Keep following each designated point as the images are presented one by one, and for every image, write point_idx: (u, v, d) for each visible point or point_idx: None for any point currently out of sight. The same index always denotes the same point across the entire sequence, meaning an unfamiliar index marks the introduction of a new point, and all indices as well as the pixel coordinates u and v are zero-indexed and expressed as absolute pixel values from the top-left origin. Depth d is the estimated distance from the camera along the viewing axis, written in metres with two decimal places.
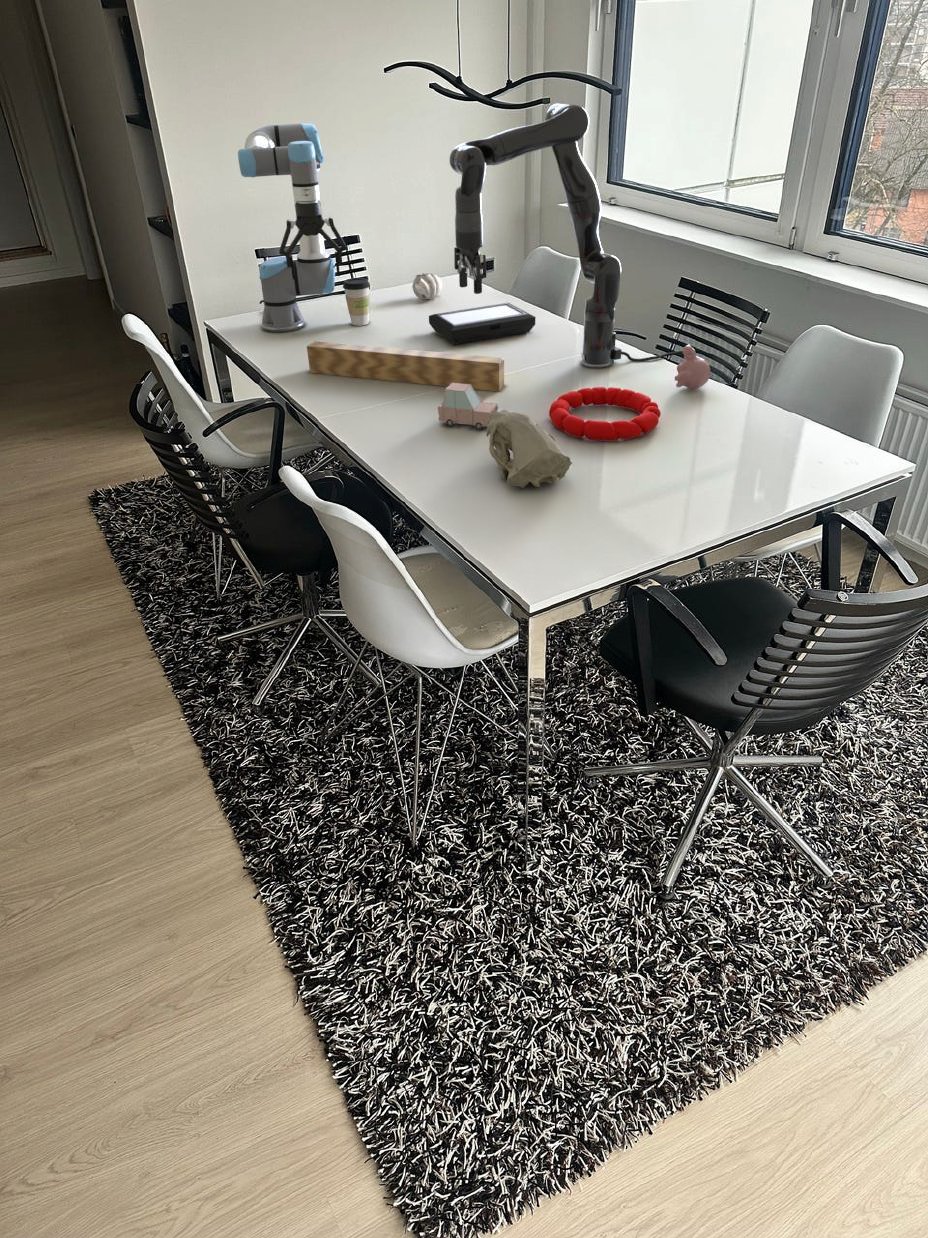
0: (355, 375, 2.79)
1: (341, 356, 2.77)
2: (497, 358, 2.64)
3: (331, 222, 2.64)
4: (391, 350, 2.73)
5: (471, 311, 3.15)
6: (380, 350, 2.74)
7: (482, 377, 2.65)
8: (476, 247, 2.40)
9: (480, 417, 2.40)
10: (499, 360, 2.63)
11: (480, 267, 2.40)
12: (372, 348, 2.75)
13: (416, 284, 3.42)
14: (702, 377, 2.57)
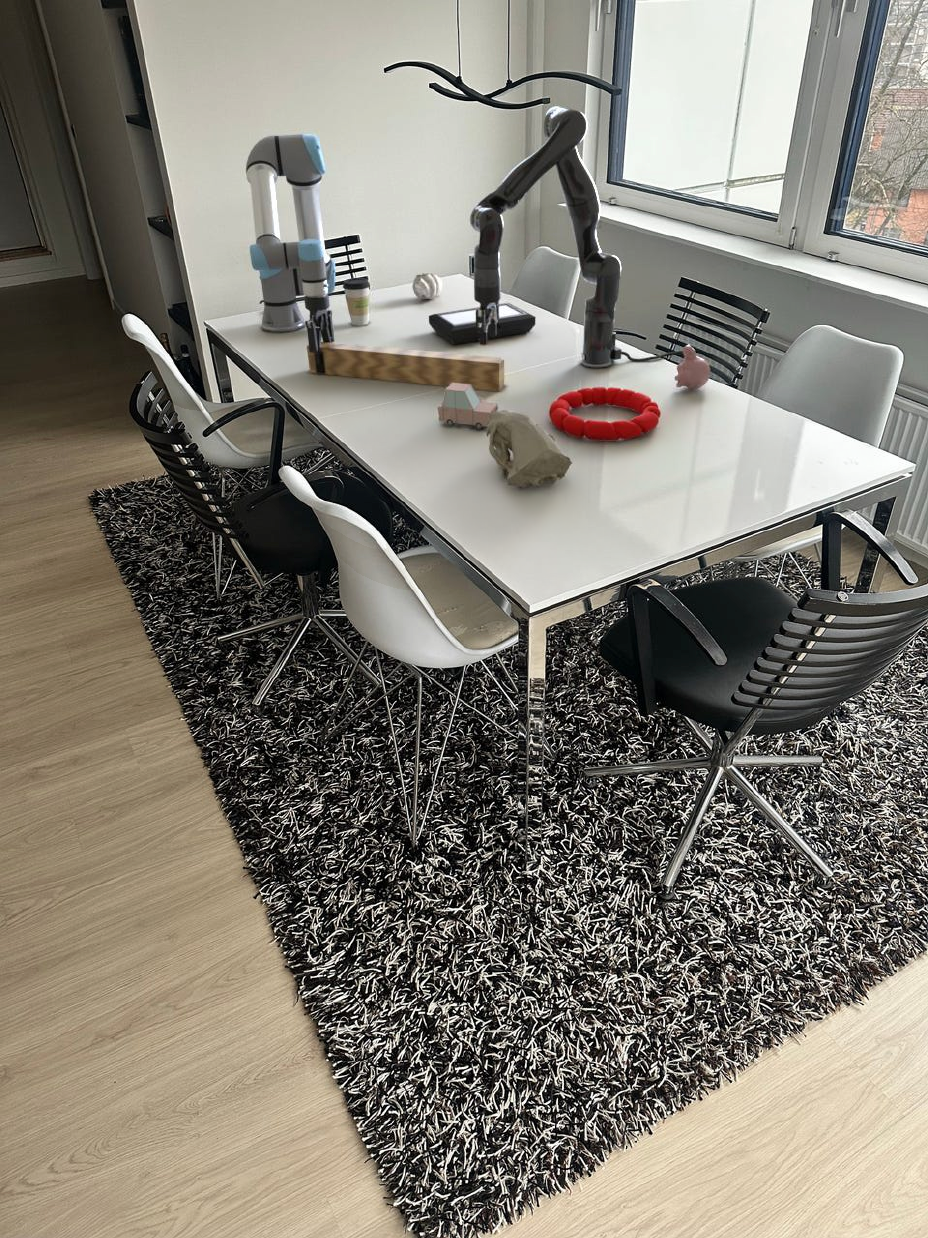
0: (355, 375, 2.79)
1: (341, 356, 2.77)
2: (497, 358, 2.64)
3: (331, 314, 2.80)
4: (391, 350, 2.73)
5: (471, 311, 3.15)
6: (380, 350, 2.74)
7: (482, 377, 2.65)
8: (483, 302, 2.51)
9: (480, 417, 2.40)
10: (499, 360, 2.63)
11: (477, 321, 2.51)
12: (372, 348, 2.75)
13: (416, 284, 3.42)
14: (702, 377, 2.57)
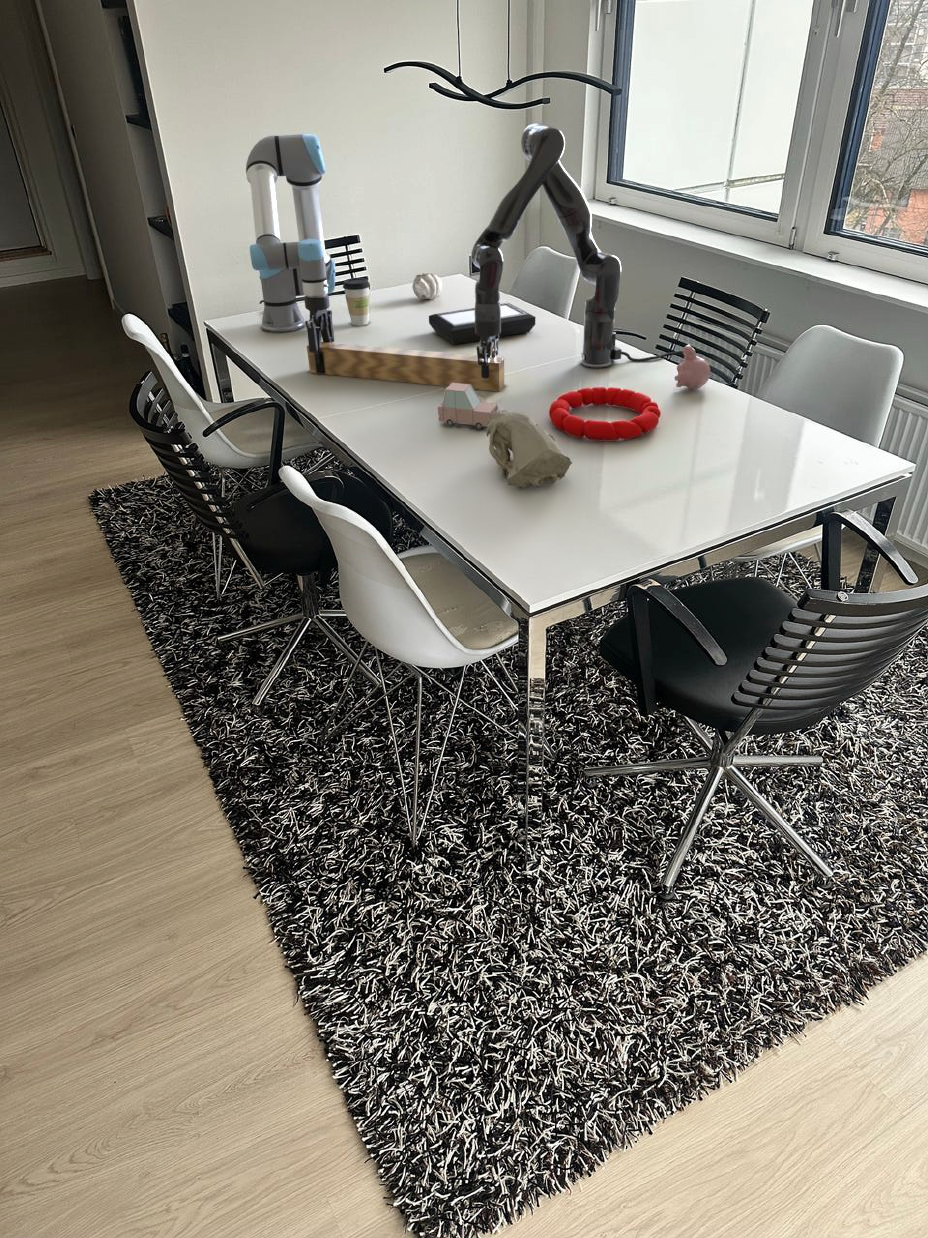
0: (355, 375, 2.79)
1: (341, 356, 2.77)
2: (497, 358, 2.64)
3: (331, 314, 2.80)
4: (391, 350, 2.73)
5: (471, 311, 3.15)
6: (380, 350, 2.74)
7: None
8: (483, 336, 2.56)
9: (480, 417, 2.40)
10: (499, 360, 2.63)
11: (479, 357, 2.58)
12: (372, 348, 2.75)
13: (416, 284, 3.42)
14: (702, 377, 2.57)
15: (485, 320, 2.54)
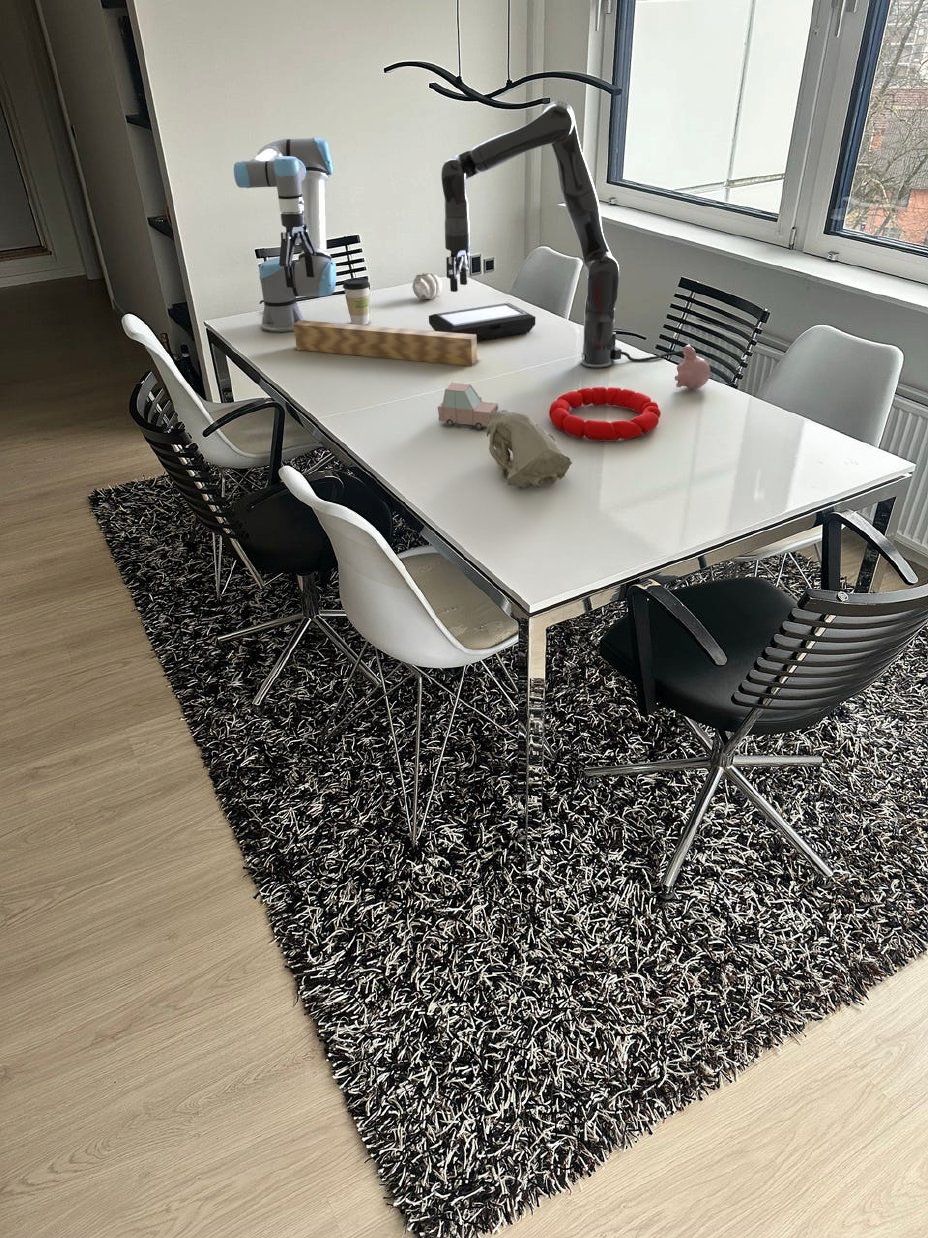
0: (338, 351, 2.99)
1: (326, 334, 2.97)
2: (470, 335, 2.84)
3: (307, 228, 2.88)
4: (371, 328, 2.93)
5: (471, 311, 3.15)
6: (361, 327, 2.93)
7: (456, 352, 2.85)
8: (453, 250, 2.66)
9: (480, 417, 2.40)
10: (472, 336, 2.82)
11: (448, 267, 2.66)
12: (354, 326, 2.95)
13: (416, 284, 3.42)
14: (702, 377, 2.57)
15: (454, 234, 2.63)
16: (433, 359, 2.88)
